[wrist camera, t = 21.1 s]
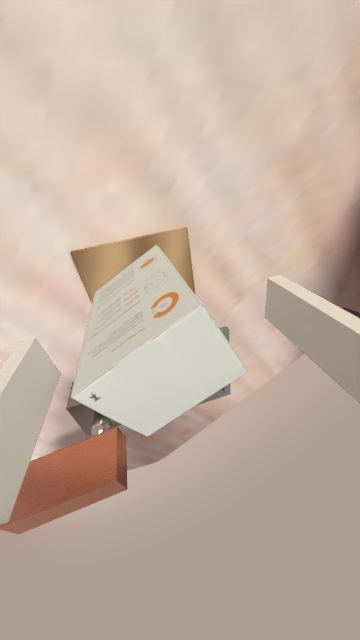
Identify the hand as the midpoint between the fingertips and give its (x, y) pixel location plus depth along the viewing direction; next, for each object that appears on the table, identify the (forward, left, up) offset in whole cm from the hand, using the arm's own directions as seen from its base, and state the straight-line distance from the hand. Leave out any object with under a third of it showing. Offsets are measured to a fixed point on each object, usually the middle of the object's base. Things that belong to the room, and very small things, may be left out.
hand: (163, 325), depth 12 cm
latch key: (+12, +16, -7) cm, 21 cm away
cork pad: (+1, +3, -11) cm, 12 cm away
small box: (+1, +2, -11) cm, 11 cm away
